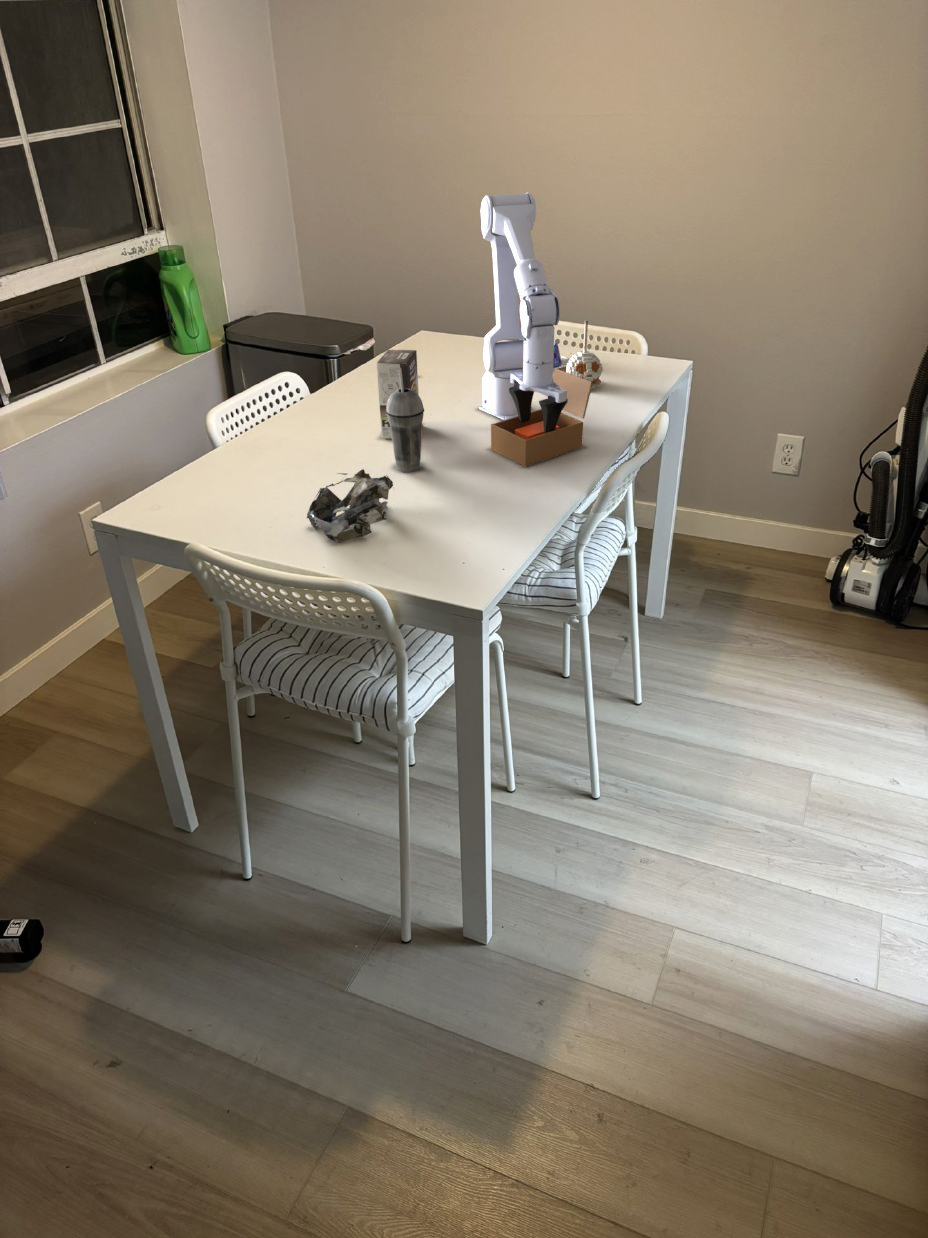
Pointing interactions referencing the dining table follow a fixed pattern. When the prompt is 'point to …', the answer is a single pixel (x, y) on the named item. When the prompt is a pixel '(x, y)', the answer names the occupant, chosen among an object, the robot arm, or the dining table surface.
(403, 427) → the beverage cup
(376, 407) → the dining table surface
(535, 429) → the block
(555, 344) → the pudding
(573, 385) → the flap
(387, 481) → the foil
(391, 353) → the coffee box
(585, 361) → the decorative ornament
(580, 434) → the box
